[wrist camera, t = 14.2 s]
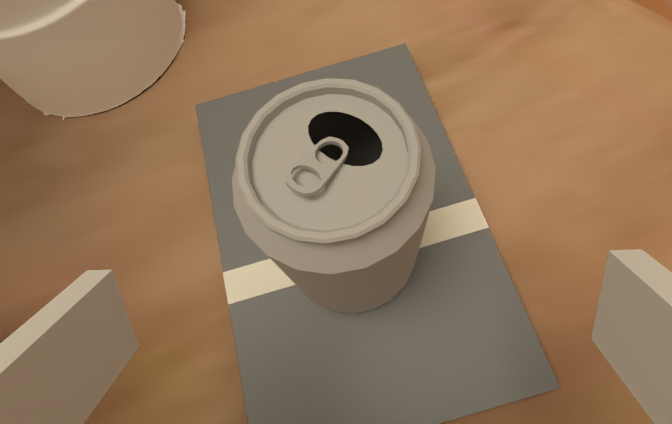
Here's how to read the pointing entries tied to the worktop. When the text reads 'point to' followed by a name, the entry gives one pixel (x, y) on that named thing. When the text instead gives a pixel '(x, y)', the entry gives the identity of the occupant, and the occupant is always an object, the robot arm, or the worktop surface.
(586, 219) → the worktop surface
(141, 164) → the worktop surface
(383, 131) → the can
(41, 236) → the worktop surface
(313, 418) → the board
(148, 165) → the worktop surface
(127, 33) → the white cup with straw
